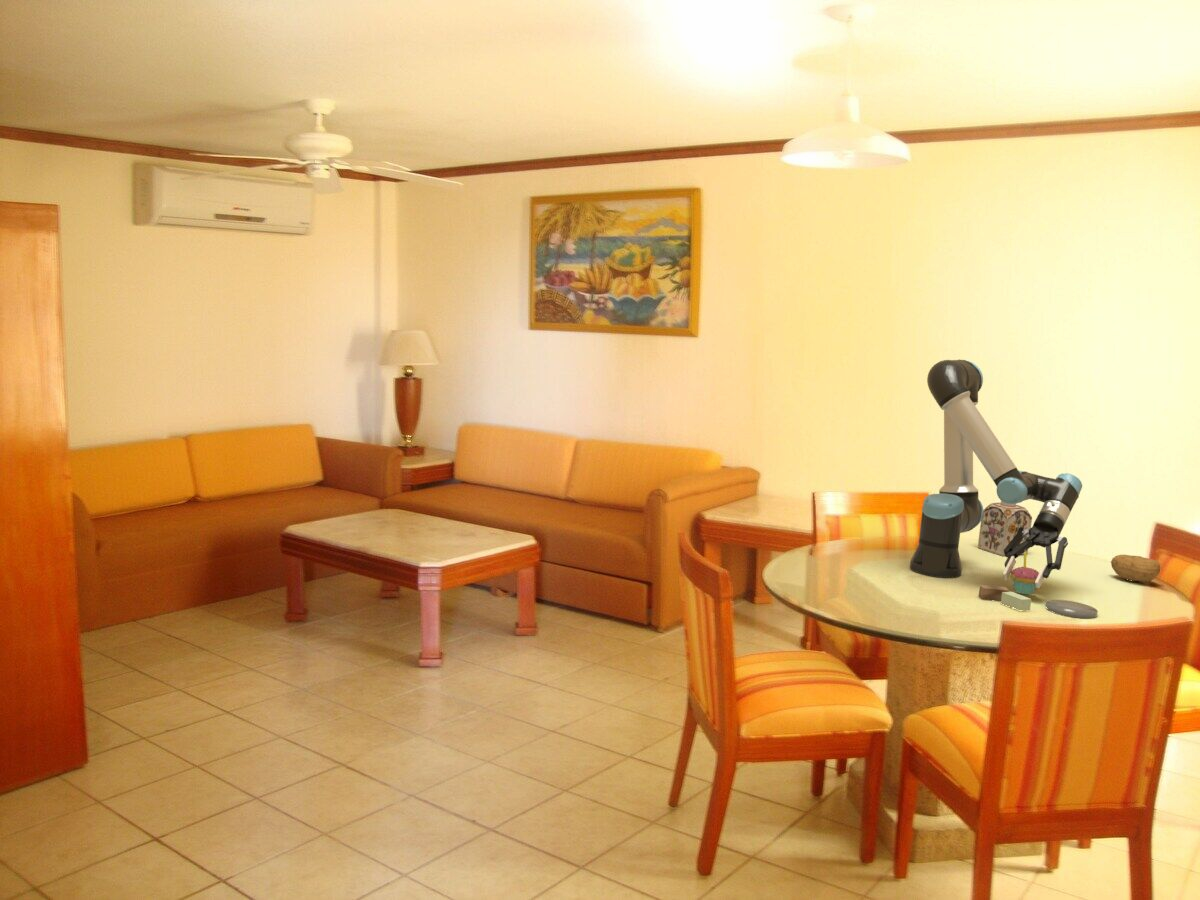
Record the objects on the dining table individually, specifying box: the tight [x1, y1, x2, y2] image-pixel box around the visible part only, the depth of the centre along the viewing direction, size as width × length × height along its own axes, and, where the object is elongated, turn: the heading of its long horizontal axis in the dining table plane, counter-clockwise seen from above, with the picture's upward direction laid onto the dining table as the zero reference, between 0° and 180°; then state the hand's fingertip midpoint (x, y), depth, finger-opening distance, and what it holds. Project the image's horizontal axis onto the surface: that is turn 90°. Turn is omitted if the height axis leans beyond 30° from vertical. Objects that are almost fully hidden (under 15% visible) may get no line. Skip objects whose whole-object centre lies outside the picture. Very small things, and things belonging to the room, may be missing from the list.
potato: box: [1110, 554, 1162, 583], centre depth 318 cm, size 10×14×8 cm
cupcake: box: [1009, 551, 1040, 595], centre depth 290 cm, size 9×8×12 cm
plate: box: [1044, 599, 1099, 620], centre depth 280 cm, size 13×13×1 cm
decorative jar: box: [977, 500, 1033, 557], centre depth 347 cm, size 12×12×18 cm
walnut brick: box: [978, 584, 1010, 602], centre depth 287 cm, size 7×4×4 cm, turn 84°
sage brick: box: [1000, 591, 1032, 611], centre depth 280 cm, size 7×4×4 cm, turn 24°
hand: (1020, 580), depth 288 cm, fingers closed on cupcake, 8 cm apart
